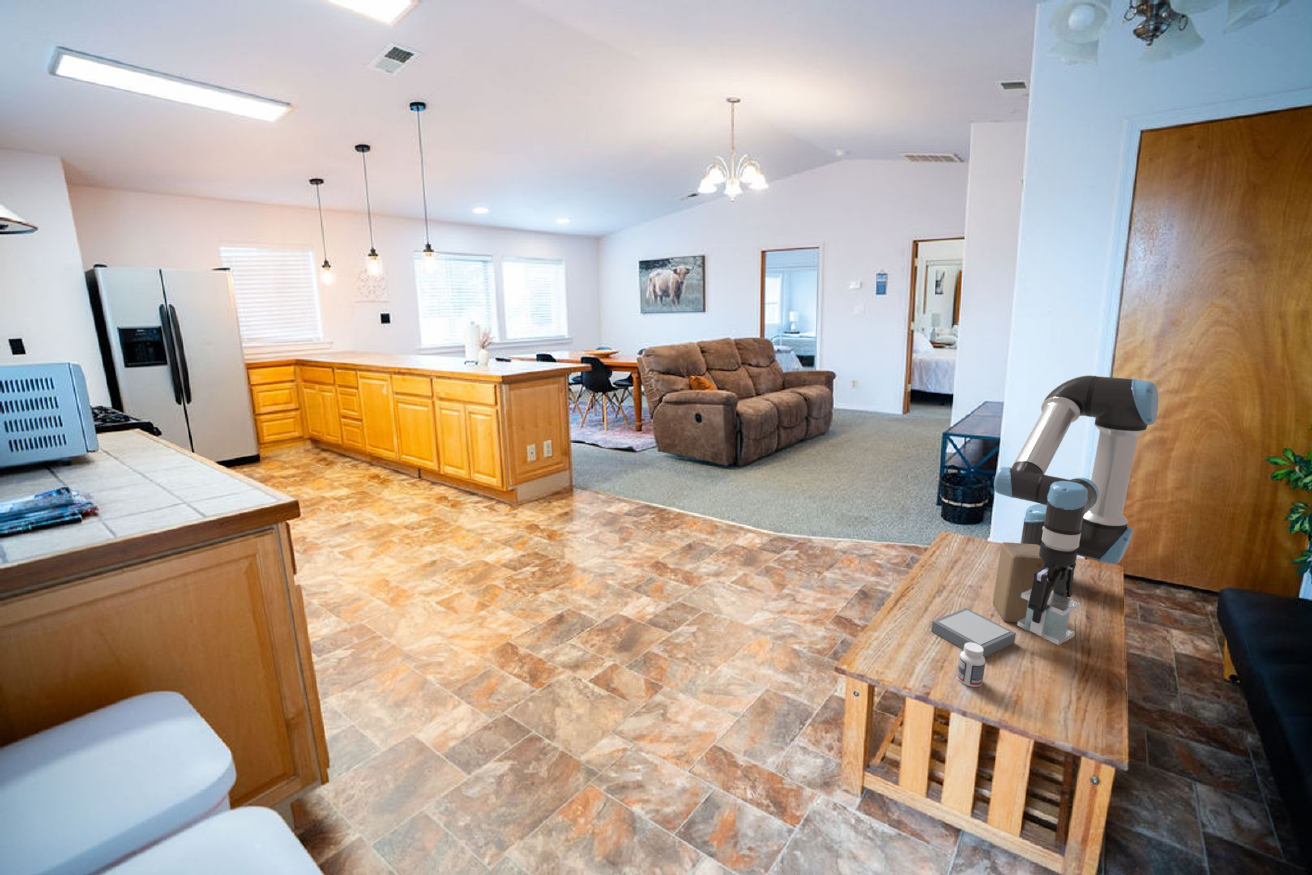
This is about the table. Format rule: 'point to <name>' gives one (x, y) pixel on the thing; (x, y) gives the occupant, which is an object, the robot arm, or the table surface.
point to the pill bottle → (971, 665)
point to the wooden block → (1015, 579)
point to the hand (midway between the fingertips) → (1045, 627)
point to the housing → (1052, 617)
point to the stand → (973, 631)
